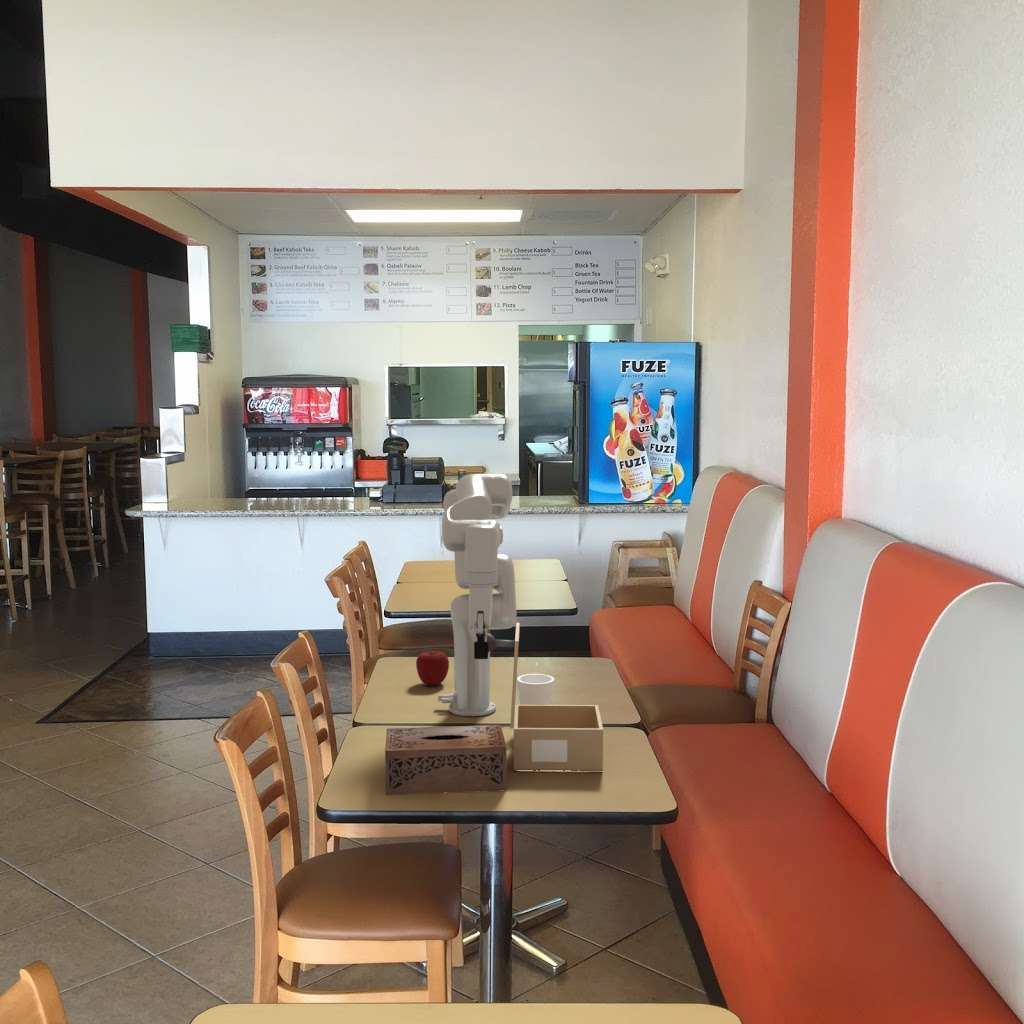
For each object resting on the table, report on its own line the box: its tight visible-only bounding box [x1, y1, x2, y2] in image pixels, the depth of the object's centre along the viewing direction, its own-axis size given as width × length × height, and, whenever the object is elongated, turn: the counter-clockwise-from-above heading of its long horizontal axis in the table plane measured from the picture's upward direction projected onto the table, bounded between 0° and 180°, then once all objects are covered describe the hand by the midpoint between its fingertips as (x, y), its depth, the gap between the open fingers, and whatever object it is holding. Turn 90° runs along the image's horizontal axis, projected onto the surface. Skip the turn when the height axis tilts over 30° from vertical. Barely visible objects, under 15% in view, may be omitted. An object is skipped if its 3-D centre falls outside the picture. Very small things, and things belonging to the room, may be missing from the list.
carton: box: [513, 704, 604, 772], centre depth 237 cm, size 20×18×10 cm
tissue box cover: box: [384, 724, 508, 796], centre depth 224 cm, size 26×14×10 cm, turn 95°
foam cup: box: [516, 673, 555, 705], centre depth 258 cm, size 10×9×13 cm
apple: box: [415, 650, 450, 687], centre depth 298 cm, size 10×10×10 cm
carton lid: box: [487, 621, 521, 729], centre depth 236 cm, size 20×18×10 cm
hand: (481, 655), depth 236 cm, fingers closed on carton lid, 4 cm apart
